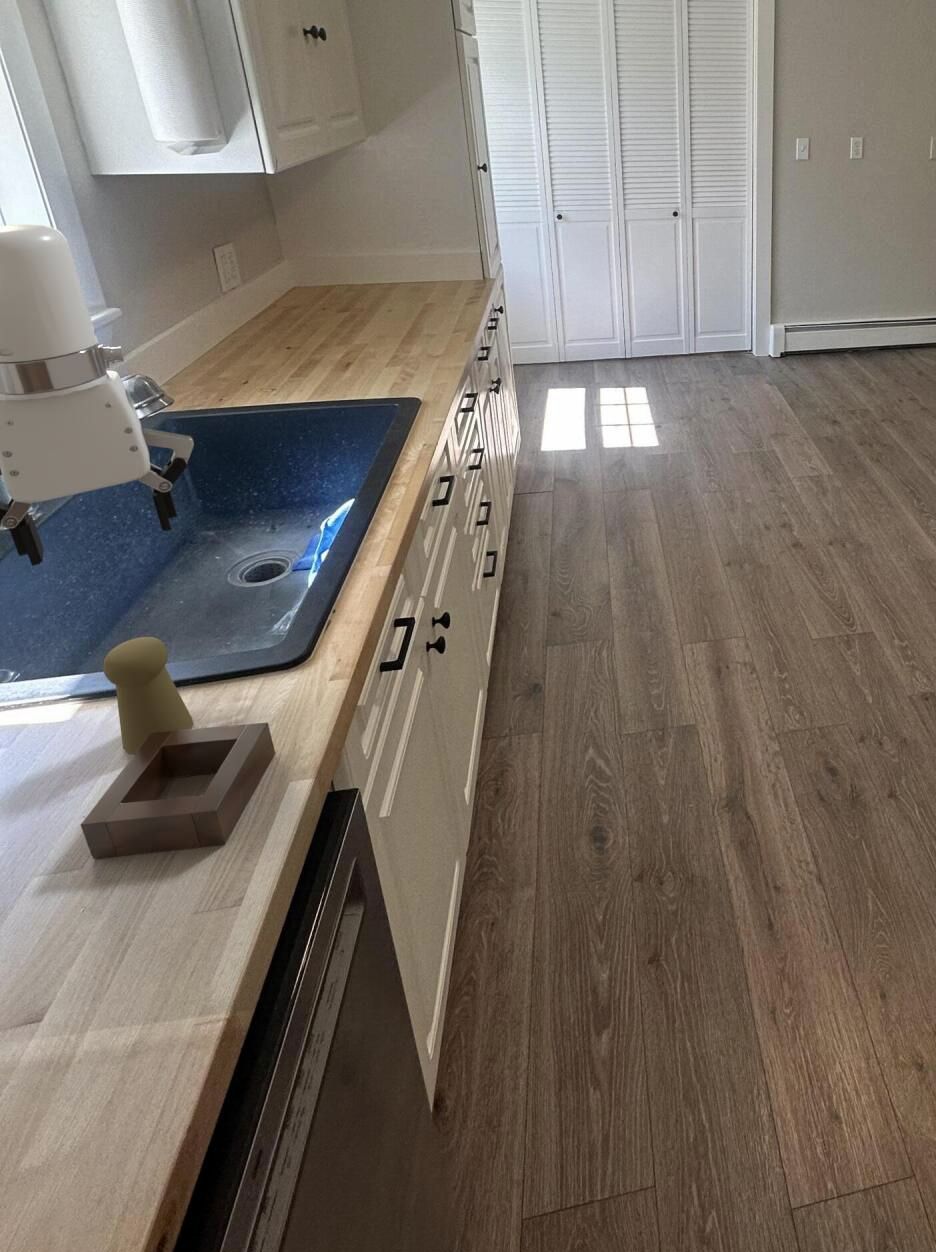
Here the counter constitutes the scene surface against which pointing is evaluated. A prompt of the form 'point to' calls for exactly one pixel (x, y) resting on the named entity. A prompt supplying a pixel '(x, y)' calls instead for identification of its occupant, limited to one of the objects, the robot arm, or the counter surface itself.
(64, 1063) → the counter surface
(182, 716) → the cork
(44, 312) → the robot arm
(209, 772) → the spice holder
